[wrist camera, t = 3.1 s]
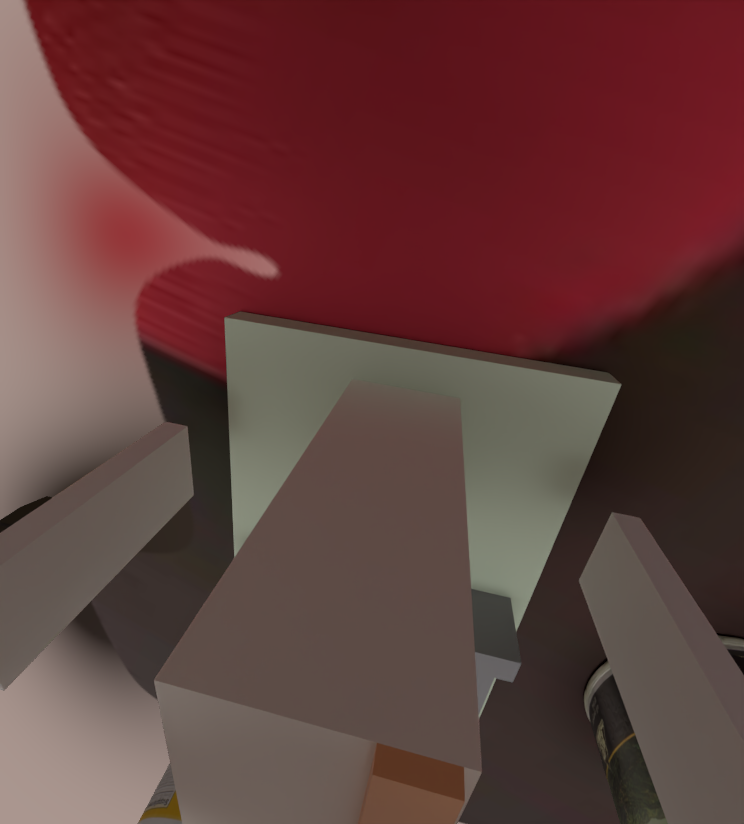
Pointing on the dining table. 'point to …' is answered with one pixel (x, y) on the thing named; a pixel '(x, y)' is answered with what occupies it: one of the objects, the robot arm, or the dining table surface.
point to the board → (481, 433)
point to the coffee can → (627, 746)
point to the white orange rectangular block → (339, 636)
